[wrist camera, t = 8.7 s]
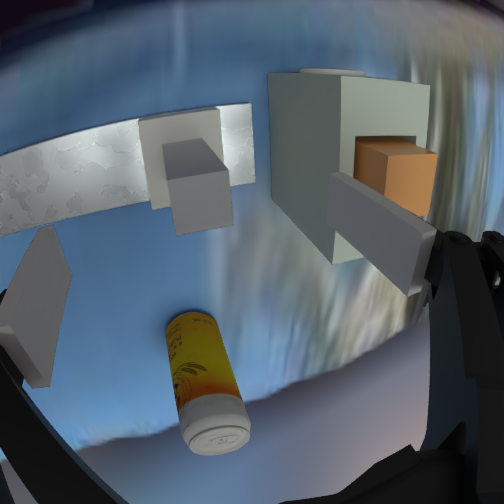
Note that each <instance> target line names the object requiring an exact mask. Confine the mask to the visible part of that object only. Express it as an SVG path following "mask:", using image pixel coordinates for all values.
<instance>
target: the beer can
mask: <svg viewBox="0 0 504 504" xmlns="http://www.w3.org/2000/svg"><path fill="white" fill-rule="evenodd" d="M166 342H167V349H168V356H169V363H170V370H171V376H172V382H173V388H174V394H175V400H176V406H177V411H178V417H179V422H180V427H181V432H182V437H183V439H184V441H185V442H186V443H187V444H188V445H189V448H190V449H191V451H193V452H194V453H197V454H201V455H218V454H224V453H228V452H231V451H234V450H236V449H238V448H240V447H241V446H243V445H244V444H246V442H247V441H248V440H249V438H250V434H249V431H250V426H251V424H250V420H249V418H248V415H247V412H246V409H245V406H244V403H243V400H242V398H241V395H240V392H239V389H238V386H237V383H236V380H235V377H234V374H233V371H232V368H231V365H230V362H229V359H228V356H227V353H226V350H225V347H224V344H223V340H222V337H221V334H220V331H219V328H218V325H217V323H216V321H215V320H214V319H213V318H212V317H210V316H208V315H206V314H203V313H200V312H187V313H183V314H181V315H179V316H177V317H176V318H175V319H174V320H173V321H172V322H171V323H170V324H169V325H168V327H167V329H166Z"/></svg>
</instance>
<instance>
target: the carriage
mask: <svg viewBox="0 0 504 504" xmlns="http://www.w3.org/2000/svg"><path fill="white" fill-rule="evenodd" d="M138 128H139V135H140V142H141V148H142V155H143V161H144V167H145V173H146V179H147V184H148V190H149V195H150V201H151V206H152V210H155V209H160V208H165V207H170V206H171V209H172V215H173V220H174V226H175V231H176V236H180V235H185V234H190V233H195V232H201V231H206V230H211V229H217V228H222V227H227V226H233V225H234V224H233V213H232V201H231V189H230V177H229V170H228V168H227V167H226V166H225V165H224V155H223V143H222V131H221V118H220V109H218V108H216V107H212V108H203V109H196V110H188V111H181V112H175V113H168V114H162V115H156V116H151V117H145V118H140V119H139V120H138Z"/></svg>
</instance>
